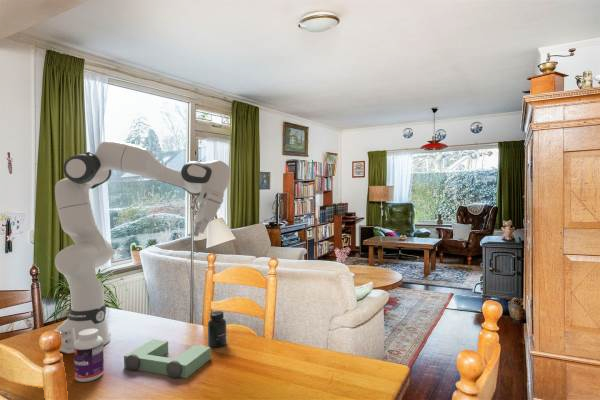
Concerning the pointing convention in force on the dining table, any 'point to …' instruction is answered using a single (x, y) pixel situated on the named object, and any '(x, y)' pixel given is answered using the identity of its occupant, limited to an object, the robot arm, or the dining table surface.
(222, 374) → the dining table surface
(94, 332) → the pill bottle
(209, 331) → the supplement bottle
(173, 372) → the green u-shaped block
